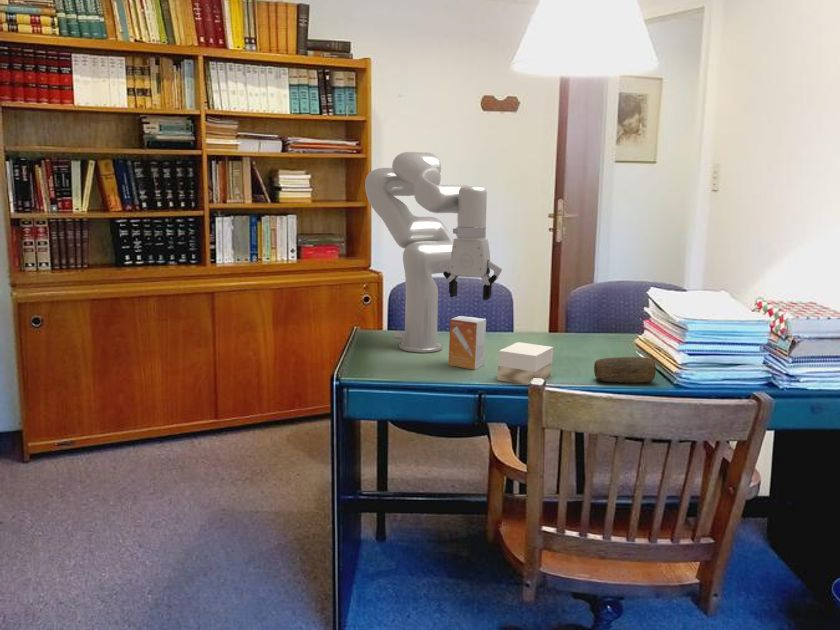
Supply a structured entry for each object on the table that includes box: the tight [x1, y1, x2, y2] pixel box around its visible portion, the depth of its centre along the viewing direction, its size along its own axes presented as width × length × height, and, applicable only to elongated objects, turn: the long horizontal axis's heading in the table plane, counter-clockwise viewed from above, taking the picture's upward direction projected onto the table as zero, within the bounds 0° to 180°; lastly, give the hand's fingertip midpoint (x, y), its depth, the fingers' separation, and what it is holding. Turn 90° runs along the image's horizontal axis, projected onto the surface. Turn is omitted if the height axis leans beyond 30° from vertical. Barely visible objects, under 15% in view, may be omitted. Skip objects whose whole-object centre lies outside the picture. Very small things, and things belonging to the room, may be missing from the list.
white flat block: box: [497, 341, 554, 372], centre depth 199 cm, size 10×12×4 cm
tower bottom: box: [497, 363, 552, 386], centre depth 200 cm, size 10×12×4 cm
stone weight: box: [593, 356, 657, 384], centre depth 198 cm, size 15×7×7 cm, turn 94°
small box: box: [448, 315, 487, 371], centre depth 210 cm, size 8×6×13 cm
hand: (469, 297), depth 207 cm, fingers open, 9 cm apart
